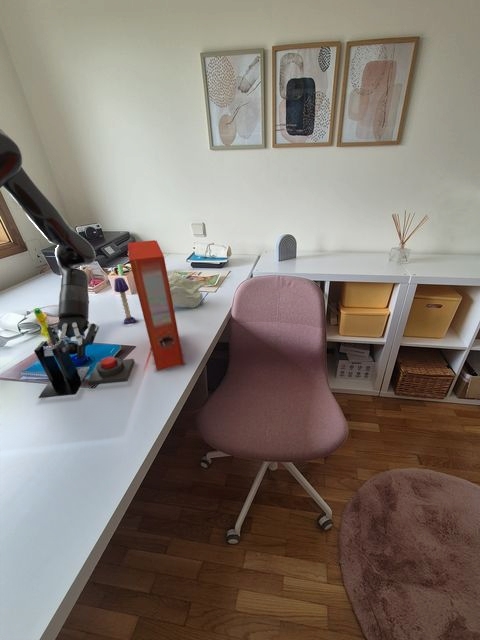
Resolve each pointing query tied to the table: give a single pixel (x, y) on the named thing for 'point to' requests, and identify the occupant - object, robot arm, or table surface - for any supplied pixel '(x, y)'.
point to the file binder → (156, 302)
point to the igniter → (108, 362)
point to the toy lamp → (124, 299)
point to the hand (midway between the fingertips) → (72, 359)
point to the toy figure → (42, 321)
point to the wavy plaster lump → (185, 291)
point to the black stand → (60, 371)
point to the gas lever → (70, 347)
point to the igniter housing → (111, 372)
